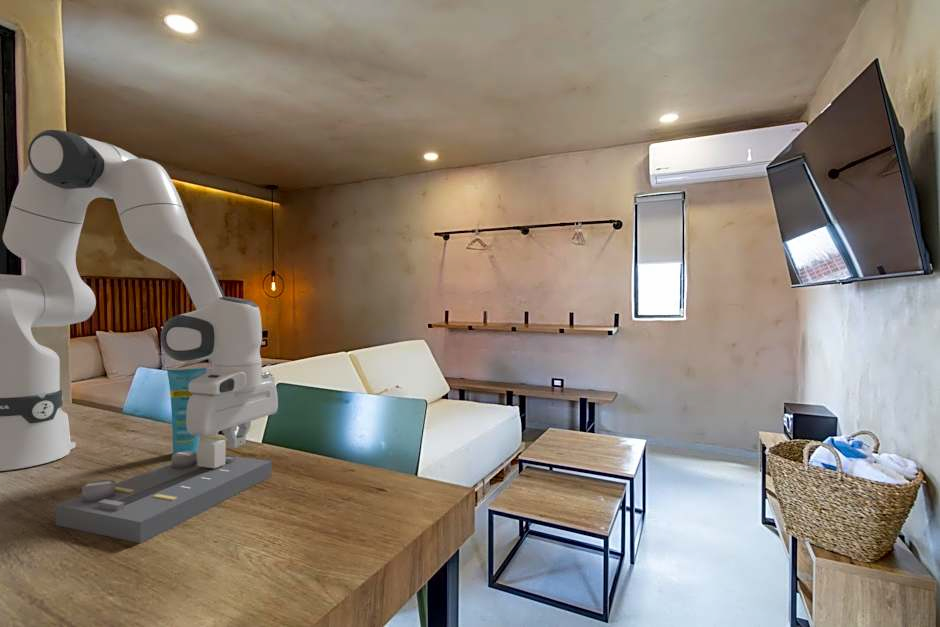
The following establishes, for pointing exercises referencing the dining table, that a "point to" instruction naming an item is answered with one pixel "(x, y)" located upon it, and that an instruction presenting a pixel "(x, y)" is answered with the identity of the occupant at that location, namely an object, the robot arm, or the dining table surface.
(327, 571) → the dining table surface
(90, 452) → the dining table surface
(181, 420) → the tube
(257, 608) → the dining table surface
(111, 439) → the dining table surface
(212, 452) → the fader cap
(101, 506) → the console
